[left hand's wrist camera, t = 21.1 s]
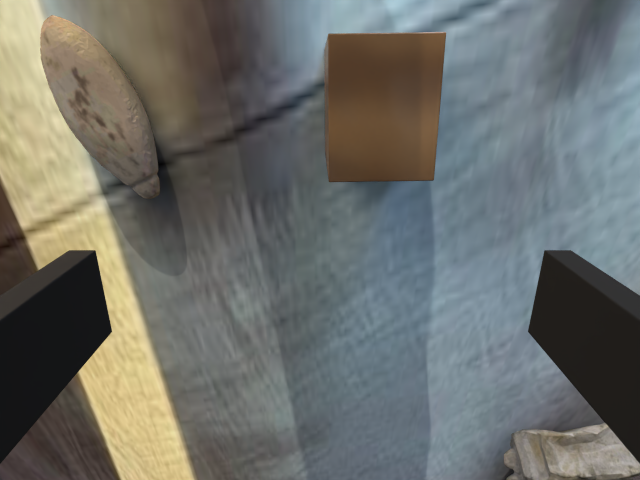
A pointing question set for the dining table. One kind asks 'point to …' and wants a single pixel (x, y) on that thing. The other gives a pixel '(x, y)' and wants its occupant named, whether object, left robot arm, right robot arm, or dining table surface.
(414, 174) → the brown wooden block
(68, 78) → the decorative stone
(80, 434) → the dining table surface
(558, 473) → the decorative stone
